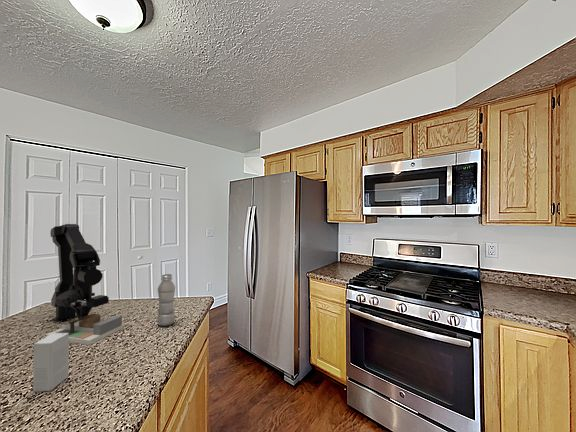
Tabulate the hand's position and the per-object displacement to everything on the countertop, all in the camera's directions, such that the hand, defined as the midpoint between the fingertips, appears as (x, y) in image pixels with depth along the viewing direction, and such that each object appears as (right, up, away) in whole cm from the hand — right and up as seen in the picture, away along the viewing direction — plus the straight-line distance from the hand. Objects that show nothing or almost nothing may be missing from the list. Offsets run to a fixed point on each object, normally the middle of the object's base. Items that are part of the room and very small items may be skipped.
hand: (82, 322), depth 99 cm
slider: (+3, -1, -3) cm, 5 cm away
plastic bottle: (+29, -4, +6) cm, 30 cm away
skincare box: (+17, -3, -32) cm, 37 cm away
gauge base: (+4, -3, -2) cm, 5 cm away
